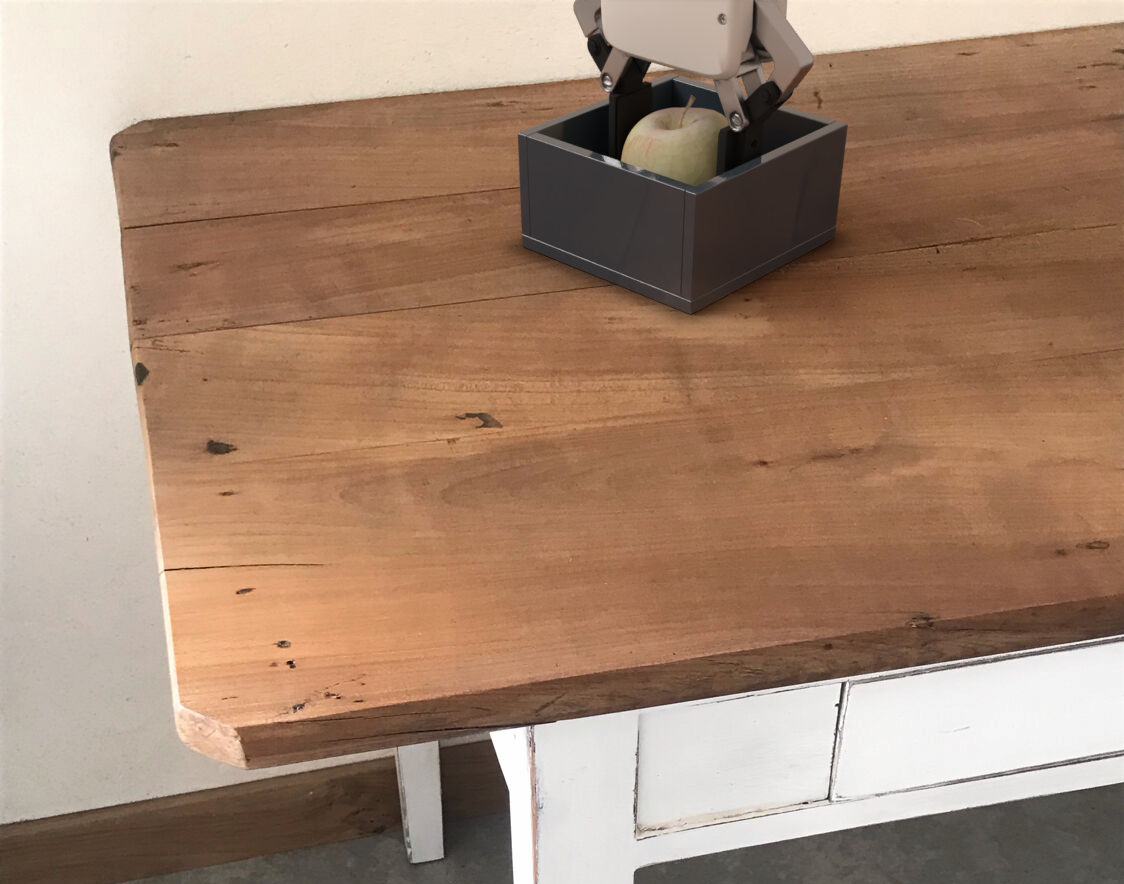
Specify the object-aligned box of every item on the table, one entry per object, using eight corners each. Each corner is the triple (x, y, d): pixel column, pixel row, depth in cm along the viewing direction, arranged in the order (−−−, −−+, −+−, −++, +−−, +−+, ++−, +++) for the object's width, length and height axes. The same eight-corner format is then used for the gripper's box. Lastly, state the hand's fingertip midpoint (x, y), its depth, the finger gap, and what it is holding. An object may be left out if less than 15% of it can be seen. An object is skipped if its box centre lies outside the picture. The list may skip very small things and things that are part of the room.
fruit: (767, 232, 84) (779, 93, 78) (677, 268, 80) (682, 125, 75) (683, 195, 88) (688, 61, 82) (594, 227, 85) (593, 90, 79)
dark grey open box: (835, 238, 85) (848, 123, 80) (690, 314, 78) (696, 194, 73) (667, 181, 92) (671, 72, 87) (521, 246, 85) (517, 132, 80)
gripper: (882, -168, 67) (839, 195, 79) (618, -208, 76) (616, 123, 88) (787, -140, 63) (758, 236, 76) (521, -186, 72) (533, 157, 85)
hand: (682, 173), depth 82 cm, fingers closed on fruit, 7 cm apart
